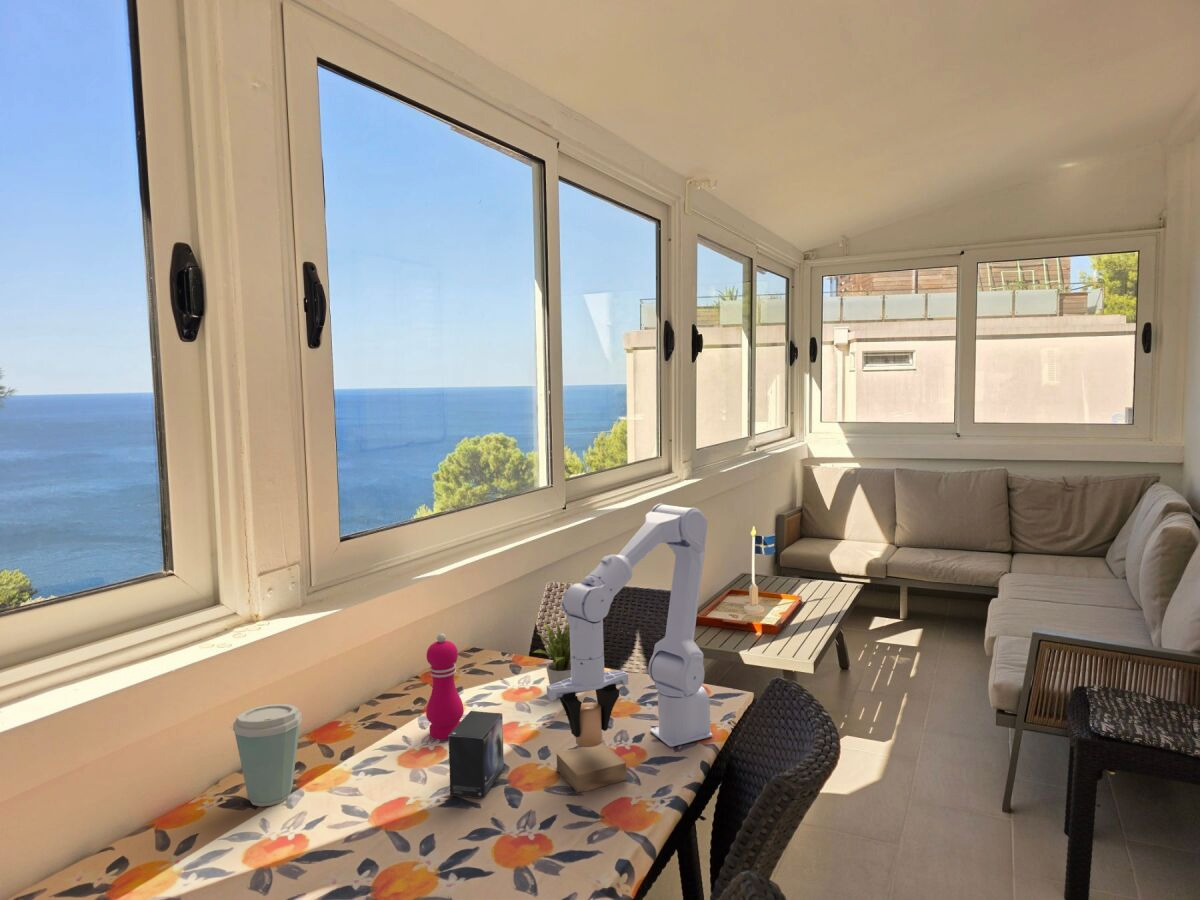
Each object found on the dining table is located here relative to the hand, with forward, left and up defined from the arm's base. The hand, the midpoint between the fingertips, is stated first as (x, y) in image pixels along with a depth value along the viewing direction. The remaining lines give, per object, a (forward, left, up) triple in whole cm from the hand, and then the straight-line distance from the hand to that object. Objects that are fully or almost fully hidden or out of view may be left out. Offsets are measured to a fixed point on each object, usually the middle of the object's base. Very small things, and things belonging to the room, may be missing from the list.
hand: (589, 731), depth 136 cm
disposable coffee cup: (+50, -19, -8) cm, 54 cm away
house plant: (-10, -35, -8) cm, 37 cm away
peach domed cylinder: (0, 0, -2) cm, 2 cm away
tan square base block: (0, 0, -8) cm, 8 cm away
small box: (+18, -7, -8) cm, 21 cm away
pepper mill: (+18, -29, -8) cm, 35 cm away
